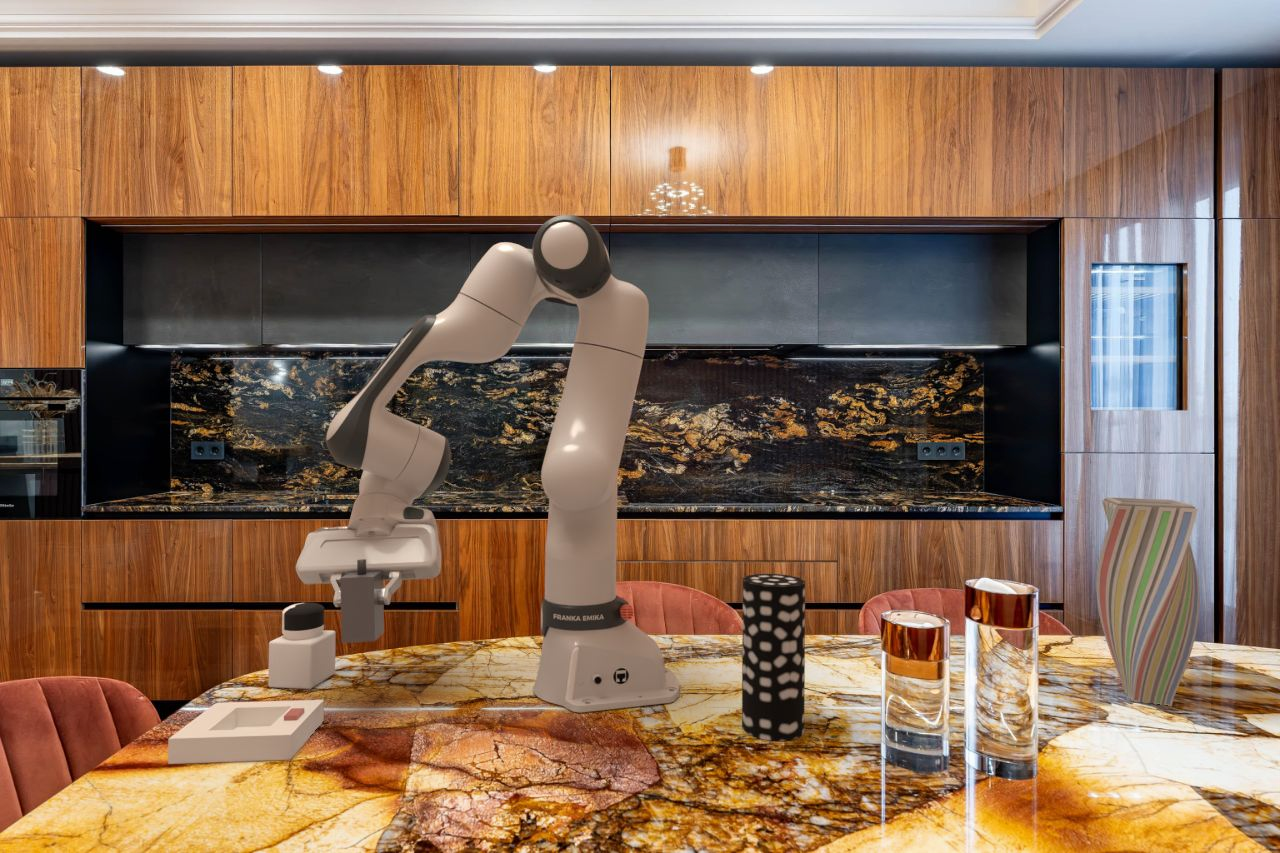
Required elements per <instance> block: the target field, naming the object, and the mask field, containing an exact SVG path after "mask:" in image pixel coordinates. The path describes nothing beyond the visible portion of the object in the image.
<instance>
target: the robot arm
mask: <svg viewBox="0 0 1280 853" xmlns="http://www.w3.org/2000/svg"><path fill="white" fill-rule="evenodd" d="M602 238H603V237H602V236H601V234H600V232H599V231H598V230H597V229H596V228H595V226H593V225H592V223H590V222H589V221H587V220H586V219H584V218H583V217H579V216H578V215H573V214H562V215H557V216H553V217H552V218H550V219H548V220H546V221H545V222H544V223H543V224H542V225H541V226H540V227H539V229H538V230H537V232H536V234H535V236H534V239H533V242H532V248H526V247H524V246H522V245H520V244H517V243H513V242H510V241H509V242H508V241H507V242H506V241H504V242H501V241H500V242H498V243H496V244H493V245H492V246H491V247H490V248H489V249H488V250H487V252H485V254H484V255H483V256H482V257H481V259H480V260H479V261H478V262H477V264H476V265H475V266H474V268H473V269H472V271H471V272H470V274H469V275H468V277H467V279H466V280H465V282H464V283H463V286H462V287H461V288H460V291H459V293H458V294H457V296H456V297H455V299H454V301H452V302H451V304H450V305H449V306H448V307H447V308H445V309H444V310H443V311H441V312H439V313H437V314H436V315H435V314H425V315H424V316H423V317H421V318H420V319H418V320H417V321H416V322H415V323H414V324H413V325H412V326H411V327H410V328H409V329H408V330H407V332H406V333H404V335H403V336H402V337H401V338H400V339H399V341H398V342H397V343H395V344H396V345H395V346H394V347H393V348H392V349H391V350H390V352H389V353H388V354H387V355H386V357H385V358H384V359H383V361H382V362H381V363H380V365H379V366H377V368H376V369H375V371H374V372H373V373H372V374H371V375H370V377H369V378H368V379H367V380H366V382H365V383H364V384H363V386H362V387H361V388H360V389H359V390H358V391H357V392H356V394H355V395H354V396H353V397H352V398H351V400H350V401H349V402H348V403H347V404H346V405H345V406H343V408H342V409H340V410H339V411H338V413H337V414H336V415H335V416H334V418H333V419H332V421H331V422H330V423H329V426H328V429H327V432H326V436H325V439H324V440H325V444H326V446H327V449H328V451H329V453H330V454H331V456H332V458H333V459H334V461H335V462H336V463H337V464H339V465H343V466H346V467H350V468H353V469H357V470H362V473H361V477H360V480H359V485H358V489H359V494H358V496H357V498H356V499H355V500H354V502H353V505H352V506H353V507H352V510H351V512H350V513H351V515H350V518H349V522H348V524H347V525H343V526H332V527H331V526H322V527H319V528H318V529H316V530H313V531H311V532H309V533H308V534H307V536H306V539H305V541H304V542H305V543H304V546H303V549H301V552H300V554H299V557H298V559H297V562H296V564H295V571H296V574H297V576H298V578H299V579H300V580H301V582H302V583H303V584H305V585H318V584H319V585H320V584H321V585H323V584H331V586H332V589H333V590H334V594H333V602H332V603H333V605H334V607H335V608H341V589H340V578H341V577H343V576H345V575H346V574H348V573H350V572H357V560H361V559H366V571H383V582H385V581H387V582H388V581H389V582H388V583H387V584H386V585H385V587H383V589H378V595H377V602H378V605H383V606H384V605H385V606H386V605H387V606H389V605H390V604H391V598H392V595H394V594H395V593H396V591H397V590H399V588H400V587H401V586H402V583H403V581H407V580H408V581H409V580H428V579H429V580H431V579H432V580H433V579H435V578H436V577H438V575H440V573H441V569H442V550H441V545H440V541H439V530H438V525H437V522H436V518H435V516H434V513H433V512H432V510H430V509H429V508H428V509H427V508H423V507H418V506H414V505H413V503H414V500H415V499H417V500H419V499H422V498H424V497H426V496H428V495H429V494H431V493H433V492H434V491H436V490H438V489H439V488H440V487H441V486H442V484H443V483H444V481H445V480H446V478H447V475H448V473H449V471H450V470H449V469H450V467H451V466H450V465H451V460H452V452H451V451H452V450H451V447H450V443H449V442H448V439H447V438H446V436H443V435H442V434H440V433H438V432H436V431H434V430H432V429H430V428H428V427H426V426H423V425H421V424H419V423H415V422H412V421H410V420H408V419H406V418H403V417H401V416H399V415H397V414H394V413H393V412H391V411H388V410H387V409H386V406H387V405H388V403H389V402H390V401H391V399H392V398H393V397H394V396H395V395H396V393H397V392H398V391H399V389H400V388H401V387H402V386H403V384H404V383H405V382H406V380H407V379H408V378H409V377H410V376H411V374H412V373H413V372H414V370H416V368H418V367H419V366H421V365H423V364H425V363H429V362H434V361H448V362H449V361H450V362H457V363H464V364H466V363H467V364H485V363H489V362H493V361H496V360H498V359H500V358H502V357H503V356H505V355H506V354H507V353H508V352H509V351H510V349H511V348H512V347H513V346H514V343H515V342H516V340H517V339H518V337H519V335H520V334H521V332H522V330H523V328H524V326H525V324H526V322H527V320H528V318H529V316H530V314H531V313H532V310H533V309H534V308H535V306H536V305H538V303H539V302H540V301H542V300H545V301H546V302H548V303H554V304H560V305H564V306H569V307H575V308H576V307H577V308H578V316H579V317H578V325H577V329H576V330H577V331H576V334H575V338H574V344H573V346H572V351H571V355H570V360H569V365H568V370H567V373H566V378H565V382H564V387H563V391H562V396H561V399H560V402H559V405H558V409H557V412H556V415H555V418H554V421H553V424H552V425H553V426H552V429H551V432H550V436H549V440H548V444H547V447H546V451H545V455H544V459H543V463H542V466H541V471H540V472H541V473H540V474H541V475H540V477H541V485H542V489H543V491H544V492H545V495H546V496H547V498H548V500H549V504H548V516H547V517H548V518H547V528H546V539H545V547H544V548H545V551H544V552H545V555H544V558H545V559H544V596H543V597H542V601H541V605H540V607H541V608H540V630H541V634H542V643H541V644H542V646H541V654H540V659H539V666H538V671H537V674H536V677H535V678H536V679H535V682H534V684H533V688H532V689H533V690H532V691H533V693H534V695H535V696H536V697H537V698H539V699H540V700H542V701H545V702H548V703H551V704H555V705H559V706H562V707H564V708H566V709H567V710H569V711H571V712H575V713H589V712H597V711H605V710H606V711H607V710H617V709H625V708H632V707H643V706H644V707H645V706H651V705H661V704H669V703H673V702H675V701H676V700H677V699H678V697H679V696H680V684H679V680H678V678H677V676H676V675H675V674H674V672H673V671H671V670H670V669H668V668H666V666H665V660H664V656H663V652H662V650H661V649H660V646H659V644H658V643H657V642H656V641H655V640H654V639H653V638H652V637H650V636H649V635H648V634H647V633H645V631H643V630H642V629H640V628H639V627H638V626H636V625H635V624H634V623H632V621H630V620H632V618H633V617H634V614H635V612H634V609H633V606H632V605H631V604H630V603H629V602H628V600H626V599H625V598H624V597H623V596H622V597H621V596H619V595H617V532H618V531H617V528H618V526H617V524H618V523H617V522H618V521H617V520H618V476H619V475H618V474H619V473H618V472H619V468H620V463H621V459H622V455H623V449H624V446H625V442H626V436H627V433H628V428H629V424H630V419H631V415H632V411H633V406H634V402H635V397H636V392H637V389H638V384H639V378H640V376H641V375H640V374H641V370H642V366H643V362H644V360H643V359H644V356H645V352H646V345H647V340H648V339H647V338H648V331H649V330H648V329H649V317H650V316H649V315H650V314H649V313H650V311H649V309H650V304H649V300H648V298H647V296H646V294H645V292H643V291H642V290H641V289H640V288H639V287H637V286H636V285H634V284H632V283H630V282H627V281H625V280H620V279H617V278H616V277H615V276H613V273H612V271H613V270H612V266H611V262H610V256H609V252H608V249H607V247H606V244H605V243H604V240H603V239H602Z"/></svg>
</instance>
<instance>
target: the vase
mask: <svg viewBox="0 0 1280 853" xmlns="http://www.w3.org/2000/svg"><path fill="white" fill-rule="evenodd" d="M1101 502H1102V506H1103V510H1104V513H1105V516H1106V520H1107V529H1106V533H1105V536H1104V539H1103V544H1102V547H1101V550H1100V555H1099V558H1098V562H1097V563H1098V564H1097V569H1096V580H1095V581H1096V583H1095V589H1096V591H1095V592H1096V603H1097V609H1098V614H1099V620H1100V624H1101V627H1102V632H1103V634H1104V638H1105V640H1106V643H1107V646H1108V649H1109V653H1110V655H1111V657H1112V660H1113V663H1114V666H1115V668H1116V671H1117V673H1118V676H1119V679H1120V682H1121V687H1122V691H1123V690H1124V691H1123V692H1124V694H1126V696H1127V697H1128V698H1129V699H1130V701H1131V700H1132V701H1131V702H1133V701H1134V703H1142V702H1143V703H1142V704H1149V703H1150V704H1151V703H1153V704H1152V705H1157V704H1160V705H1159V706H1164V705H1168V706H1167V707H1172V706H1173V703H1174V699H1175V696H1176V693H1177V690H1178V688H1179V686H1180V684H1181V681H1182V679H1183V677H1184V673H1185V671H1186V668H1187V666H1188V663H1189V660H1190V658H1191V654H1192V652H1193V651H1192V650H1193V648H1194V643H1195V639H1196V634H1197V629H1198V623H1199V615H1200V586H1199V584H1200V582H1199V576H1198V568H1197V565H1196V560H1195V557H1194V553H1193V550H1192V545H1191V542H1190V539H1191V535H1192V533H1193V532H1192V531H1193V529H1194V525H1195V522H1196V518H1197V513H1198V508H1196V506H1193V504H1189V503H1186V502H1183V501H1178V500H1175V499H1162V498H1161V499H1160V498H1159V499H1158V498H1136V497H1135V498H1133V497H1131V498H1130V497H1106V496H1105V498H1103V499H1102V500H1101Z"/></svg>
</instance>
